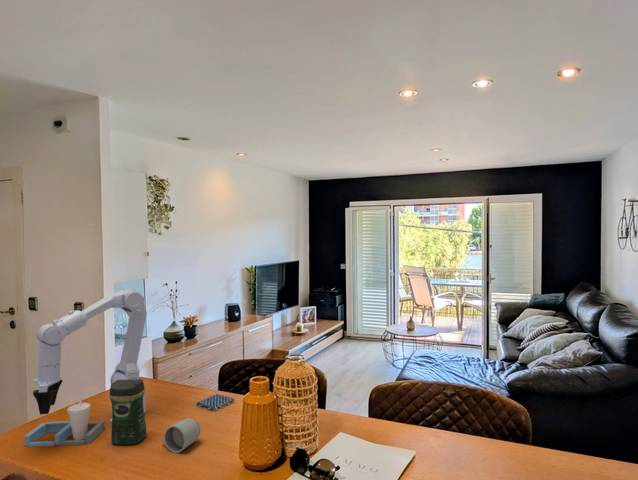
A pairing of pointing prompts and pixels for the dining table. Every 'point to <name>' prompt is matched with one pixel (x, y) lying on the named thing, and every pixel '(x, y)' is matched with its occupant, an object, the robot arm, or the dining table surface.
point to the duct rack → (62, 434)
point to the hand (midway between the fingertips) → (47, 409)
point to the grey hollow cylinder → (181, 435)
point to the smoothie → (79, 419)
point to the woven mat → (215, 402)
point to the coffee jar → (127, 412)
